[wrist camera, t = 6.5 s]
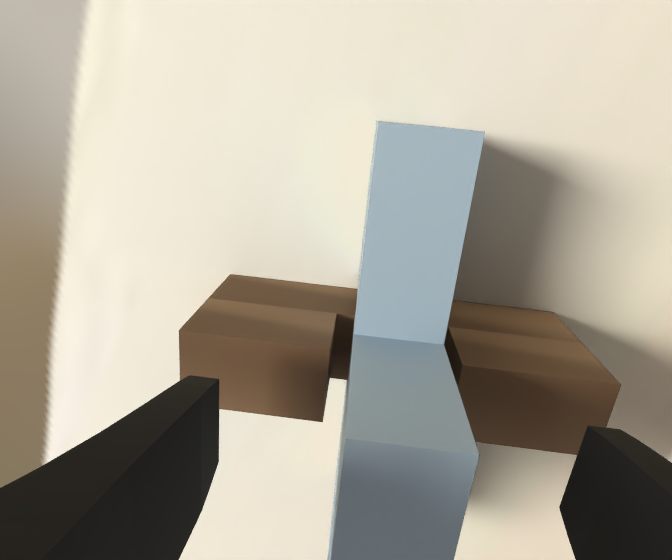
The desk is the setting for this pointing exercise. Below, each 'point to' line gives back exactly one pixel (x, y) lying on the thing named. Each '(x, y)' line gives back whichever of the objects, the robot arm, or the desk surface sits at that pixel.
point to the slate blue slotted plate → (407, 355)
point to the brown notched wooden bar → (335, 349)
